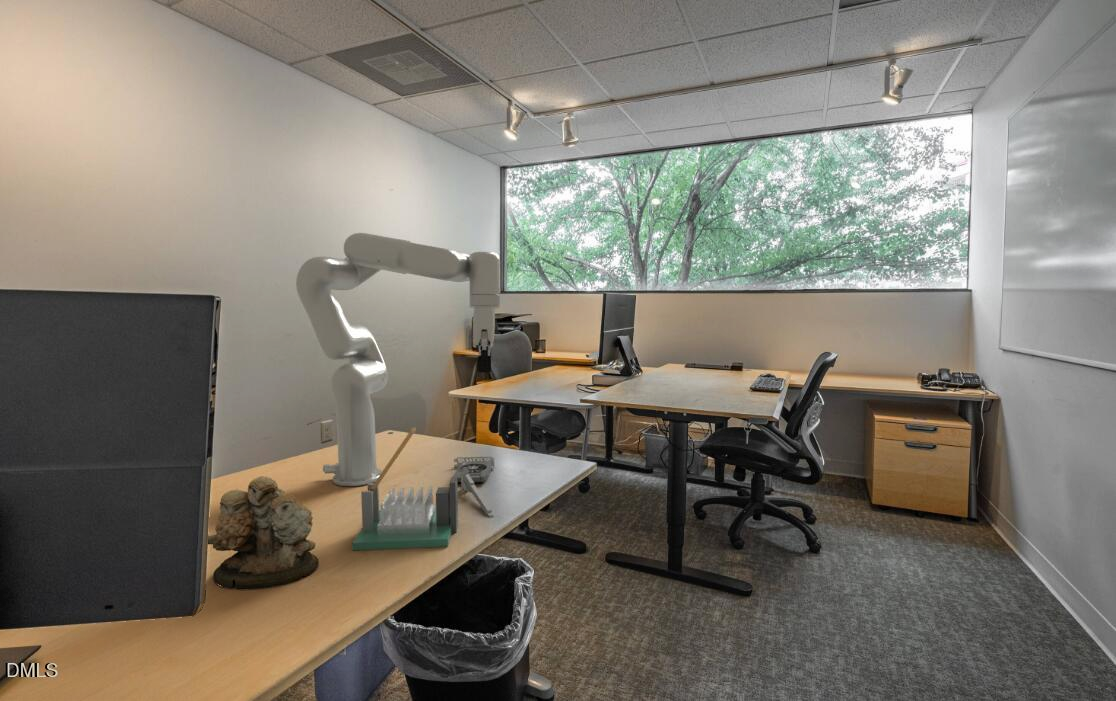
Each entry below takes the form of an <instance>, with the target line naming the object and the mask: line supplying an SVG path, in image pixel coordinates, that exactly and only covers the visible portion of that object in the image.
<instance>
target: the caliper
mask: <svg viewBox="0 0 1116 701" xmlns="http://www.w3.org/2000/svg"><path fill="white" fill-rule="evenodd" d="M460 484H461V490H462V491H463V492H464V493H466V491H468V492H469V493H471V494H472V495H473V497H474V499H475V500H476V501H477V503H478V505H479V506H480V507H481V509H482V510H483V512H484V514H486V515H487V517H488V518H492V517H494V513H493V510H492V508H491V506H490V505H489V504H488V502H487V501H486V499H485V498H484V496H483V495H482V493H481V492H480V491H479V489H478V488H477V486H476V484H475V482H474V481H473V480H472V478H471V477H470V475H469V474H468V470H467V467H465V468H463V471H462V476H461V482H460ZM463 489H464V490H463Z"/></svg>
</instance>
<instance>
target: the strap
mask: <svg viewBox="0 0 1116 701" xmlns="http://www.w3.org/2000/svg"><path fill="white" fill-rule="evenodd" d="M417 429H418V428H417V427H415V426H413V427H411V429H410V430H409V431H408V433H407V435H406V437H404V439H403V441H402V442H401V443H400V445H399V447H398V448H397V449H396V451H395V452H394V454H393V455H392V456H391V458H390V460H389V461H388V462H387V464H386V466H385V467H384V468H383V470H381V471H382V473H381V474H380V476H379V477H378V479H377V480H376V482H373V483H374V485H373V486H372V487H371V488H370V489H369V491H373V494H374V492H375V489H376V488H377V486H378V487H379V485H380V483H381V482H382V480H383V479H384V478H385V476H386V474H387V473H388V471H389V470H390V469H391V467H392V466H393V464H394V462H395V461H396V460H397V459H398V457H399V456H400V454H401V453H402V451H403V450H404V448H405V447H406V445H407V444H408V442H409V441H410V439H411V438H412V437H413V435H414V433H415V432H417Z"/></svg>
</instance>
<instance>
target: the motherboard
mask: <svg viewBox="0 0 1116 701" xmlns="http://www.w3.org/2000/svg"><path fill="white" fill-rule="evenodd" d="M374 483H375V482H373V483H368V484H367V490H362V491H361V492H360V494H361V517H362V518H361V519H362V522H361V523H362V528H361V529H360V531H359V532H358V533H357V535H356V537H355V538H354V540H353V541H352V543H351V544H352V546H351V548H352V551H369V550H370V551H371V550H391V549H392V550H394V549H416V548H437V547H439V548H440V547H441V548H442V547H448V546H449V544H450V539H451V537H452V529H451V526H450V524H449V526H437V523H436V516H435V518H434V521H433V524H432V527H431V530H430V532H429V533H419V534H395V535H378V530H377V525H378V524H379V522H380V520H381V512H380V500H379V499H380V497H379V495H380V494H379V493H380V492H379V491H380V489H379V485H378V486H377V488H376V489H375V492H374V494H373V491H369V489H370V488H371V487H372V486H373V485H374Z"/></svg>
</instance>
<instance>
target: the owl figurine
mask: <svg viewBox="0 0 1116 701" xmlns="http://www.w3.org/2000/svg"><path fill="white" fill-rule="evenodd" d="M278 486H279V485H278V483H277V482H276V480H274V479H272V478H271V477H269V476H264V475H263V476H258V477H255V478H254V479H252V480H251V481H250V482H249V484H248V486H247V491H245V490H241V489H238V488H237V489H233V490H229V491H228V492H225V493H224V494H223V495H222V496H221V497H220V501H219V505H220V506H219V509H220V514H219V515H218V522H217V523H216V525H215V528H214V530H215V533H216V534H212V535H207V536H208V545H211V546H212V548H213V549H214V550H216V551H220V552H224V551H226V552H227V551H230V552H231V551H232V552H233V551H234V552H235V553H234V554H233V555H231V556H229V557H228V558H227V559H225V560H224V561H222V562H221V563H220V565H219V566H218V567H217V568H216V569H214V571H213V575H212V576H213V577H212V578H213V582H214V583H215V584H216V583H217V584H219V585H221V586H223V587H222V588H224V587H226V588H227V587H228V588H227V589H229V588H231V589H232V588H233V586H234V589H236V588H237V590H239V589H248V590H261V589H268V588H274V587H275V588H276V587H280V586H285V585H289V584H291V583H295V582H297V581H299V580H301V579H302V578H303V577H304V578H307V577H309V576H310V575H312V574H313V573H314V572H315V571H317V569H318V568H319V565H320V562H319V558H318V556H317V555H315V554H313V553H312V552H311V551H313V550H314V549H315V548H316V542H314V541H313V540H309V539H307V538H308V536H309V534H310V533H311V532H312V527H313V518H314V517H313V516H312V513H313V512H312V511H311V509H310V508H309V507H307V506H305V505H304V504H303V503H302V502H301V501H300V500H299V499H298V498H297V496H295V495H294V494H288V493H287V494H286V493H285V491H284V490H283V489H281V488H279V487H278ZM233 581H234V582H235V585H234V583H233ZM217 584H216V585H217Z"/></svg>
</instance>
